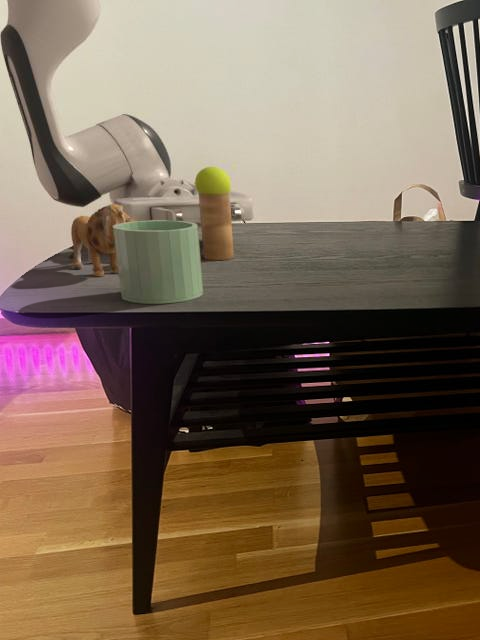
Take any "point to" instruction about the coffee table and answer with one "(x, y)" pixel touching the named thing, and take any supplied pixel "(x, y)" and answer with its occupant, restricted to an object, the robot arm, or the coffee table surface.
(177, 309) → the coffee table surface
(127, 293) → the green faceted pot
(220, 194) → the ball peg
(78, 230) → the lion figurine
